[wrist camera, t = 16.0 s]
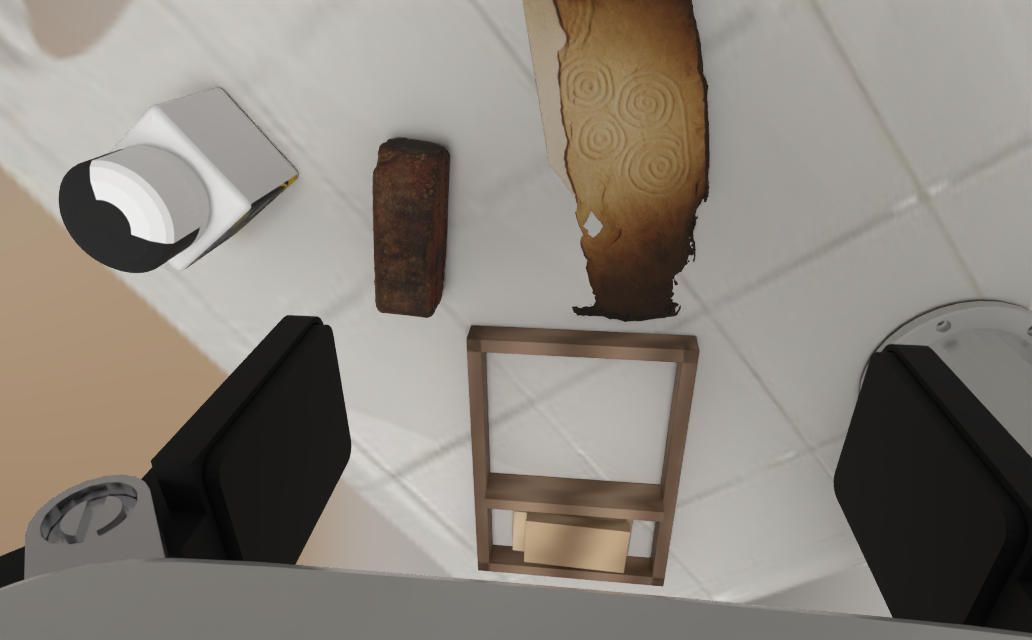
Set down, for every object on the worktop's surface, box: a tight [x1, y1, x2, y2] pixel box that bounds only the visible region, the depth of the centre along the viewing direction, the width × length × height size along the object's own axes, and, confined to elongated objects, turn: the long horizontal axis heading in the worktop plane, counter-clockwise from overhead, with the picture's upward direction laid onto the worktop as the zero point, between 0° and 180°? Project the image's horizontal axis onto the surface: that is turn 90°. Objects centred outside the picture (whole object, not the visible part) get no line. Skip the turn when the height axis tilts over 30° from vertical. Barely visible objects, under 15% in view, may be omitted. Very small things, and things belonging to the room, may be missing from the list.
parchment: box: [523, 0, 709, 322], centre depth 38 cm, size 25×10×1 cm, turn 10°
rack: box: [467, 325, 699, 586], centre depth 49 cm, size 16×24×3 cm
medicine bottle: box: [59, 88, 298, 273], centre depth 37 cm, size 7×7×12 cm
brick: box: [373, 138, 450, 318], centre depth 40 cm, size 11×4×5 cm, turn 175°
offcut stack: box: [513, 510, 633, 573], centre depth 53 cm, size 10×5×3 cm, turn 88°
